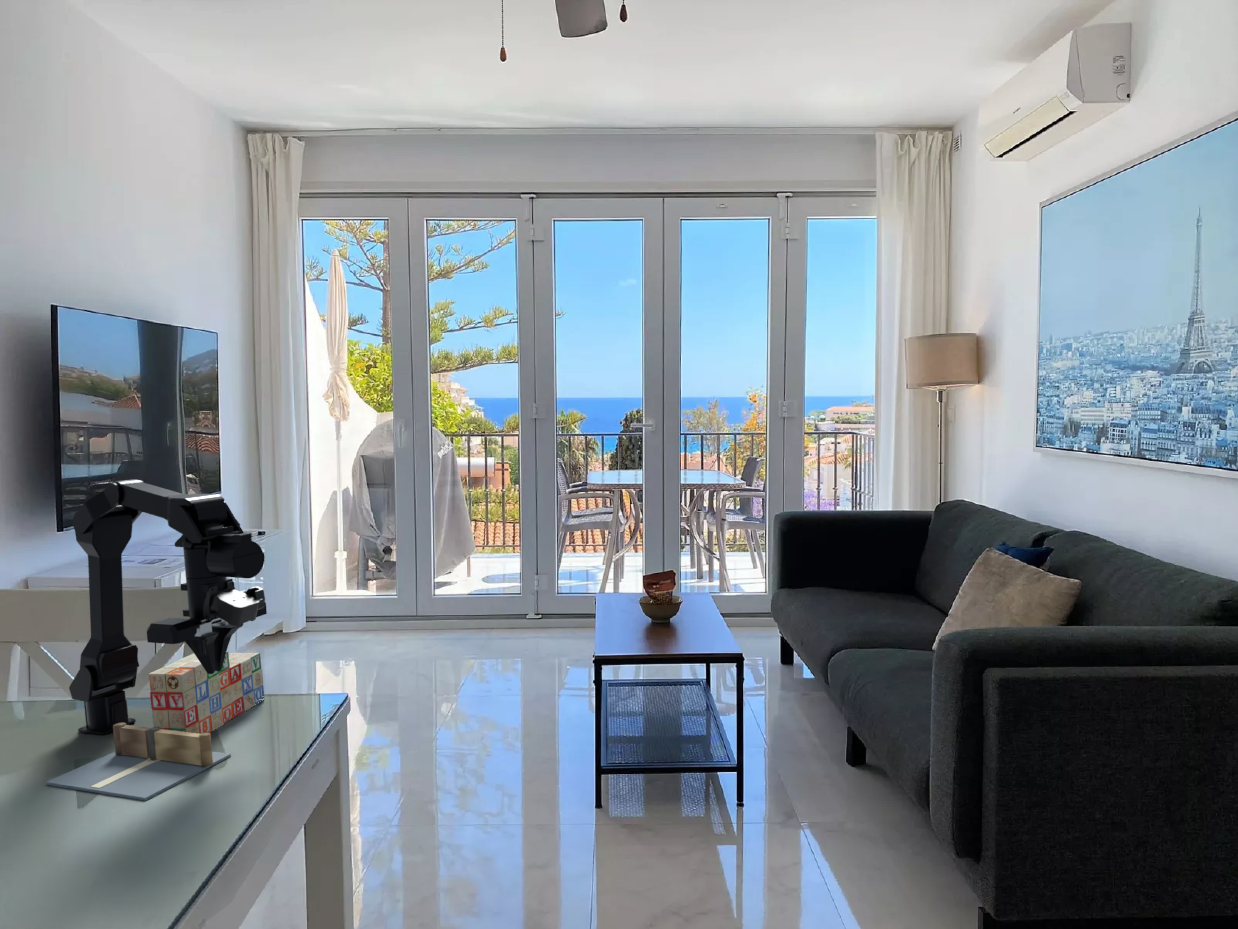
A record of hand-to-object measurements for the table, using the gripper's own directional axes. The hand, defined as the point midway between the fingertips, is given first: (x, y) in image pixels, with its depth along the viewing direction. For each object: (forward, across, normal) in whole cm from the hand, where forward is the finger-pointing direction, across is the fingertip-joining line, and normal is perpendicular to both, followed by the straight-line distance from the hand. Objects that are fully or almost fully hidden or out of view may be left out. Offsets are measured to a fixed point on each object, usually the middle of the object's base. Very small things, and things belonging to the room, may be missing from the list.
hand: (214, 672), depth 136 cm
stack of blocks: (+13, +11, +13) cm, 21 cm away
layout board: (+13, -9, +7) cm, 17 cm away
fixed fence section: (+13, -6, +12) cm, 18 cm away
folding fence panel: (+12, -5, +2) cm, 14 cm away
